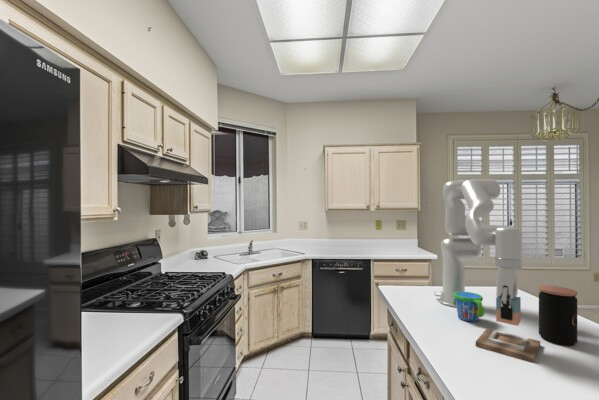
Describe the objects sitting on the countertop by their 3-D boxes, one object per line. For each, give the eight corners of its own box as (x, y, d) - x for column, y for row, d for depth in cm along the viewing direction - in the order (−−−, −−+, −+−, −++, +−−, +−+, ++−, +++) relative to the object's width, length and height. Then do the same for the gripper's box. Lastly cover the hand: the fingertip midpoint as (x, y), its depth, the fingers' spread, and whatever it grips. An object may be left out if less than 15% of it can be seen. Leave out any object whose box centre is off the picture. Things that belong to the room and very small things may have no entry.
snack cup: (446, 312, 139) (446, 289, 139) (469, 312, 139) (469, 289, 139) (466, 326, 123) (466, 300, 123) (492, 326, 124) (492, 300, 124)
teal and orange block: (496, 321, 106) (496, 297, 106) (500, 316, 110) (499, 293, 111) (517, 325, 102) (517, 301, 102) (520, 321, 106) (520, 297, 107)
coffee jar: (580, 349, 104) (580, 295, 104) (540, 341, 110) (540, 290, 110) (574, 338, 113) (573, 288, 113) (537, 331, 119) (537, 283, 119)
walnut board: (475, 346, 106) (475, 338, 106) (486, 332, 118) (486, 325, 118) (534, 362, 95) (534, 354, 95) (540, 345, 107) (540, 338, 107)
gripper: (500, 259, 116) (500, 308, 115) (489, 265, 103) (489, 320, 102) (525, 261, 110) (525, 313, 110) (517, 268, 98) (517, 326, 97)
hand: (508, 316), depth 106 cm, fingers closed on teal and orange block, 6 cm apart
